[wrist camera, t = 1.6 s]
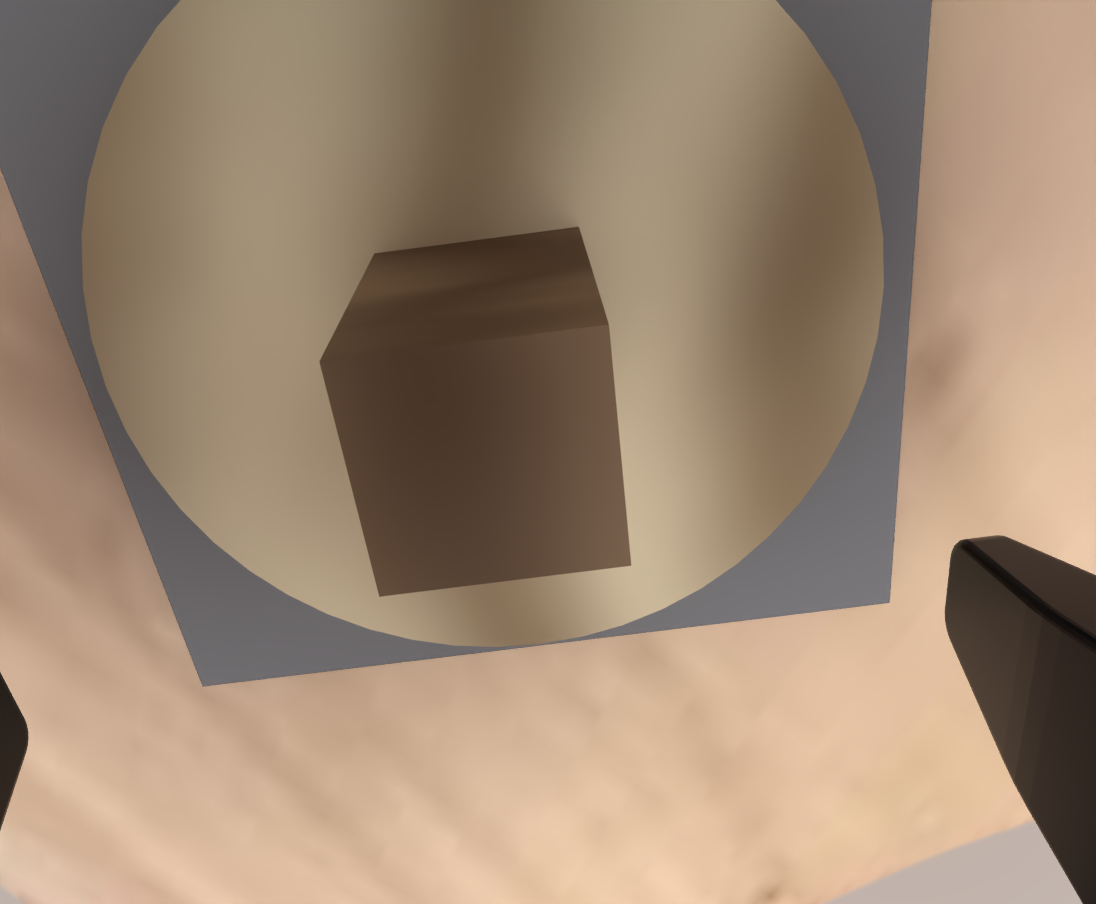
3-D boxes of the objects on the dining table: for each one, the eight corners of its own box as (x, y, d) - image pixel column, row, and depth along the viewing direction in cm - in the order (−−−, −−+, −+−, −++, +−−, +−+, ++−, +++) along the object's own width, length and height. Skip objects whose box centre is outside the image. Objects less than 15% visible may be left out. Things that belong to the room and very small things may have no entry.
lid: (878, -178, 14) (1130, -294, 8) (847, 571, 20) (975, 790, 15) (-19, -55, 14) (-363, -86, 8) (233, 647, 20) (132, 889, 15)
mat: (936, -262, 14) (950, -270, 13) (881, 589, 21) (889, 602, 21) (-93, -118, 14) (-113, -122, 13) (209, 671, 21) (202, 686, 21)
